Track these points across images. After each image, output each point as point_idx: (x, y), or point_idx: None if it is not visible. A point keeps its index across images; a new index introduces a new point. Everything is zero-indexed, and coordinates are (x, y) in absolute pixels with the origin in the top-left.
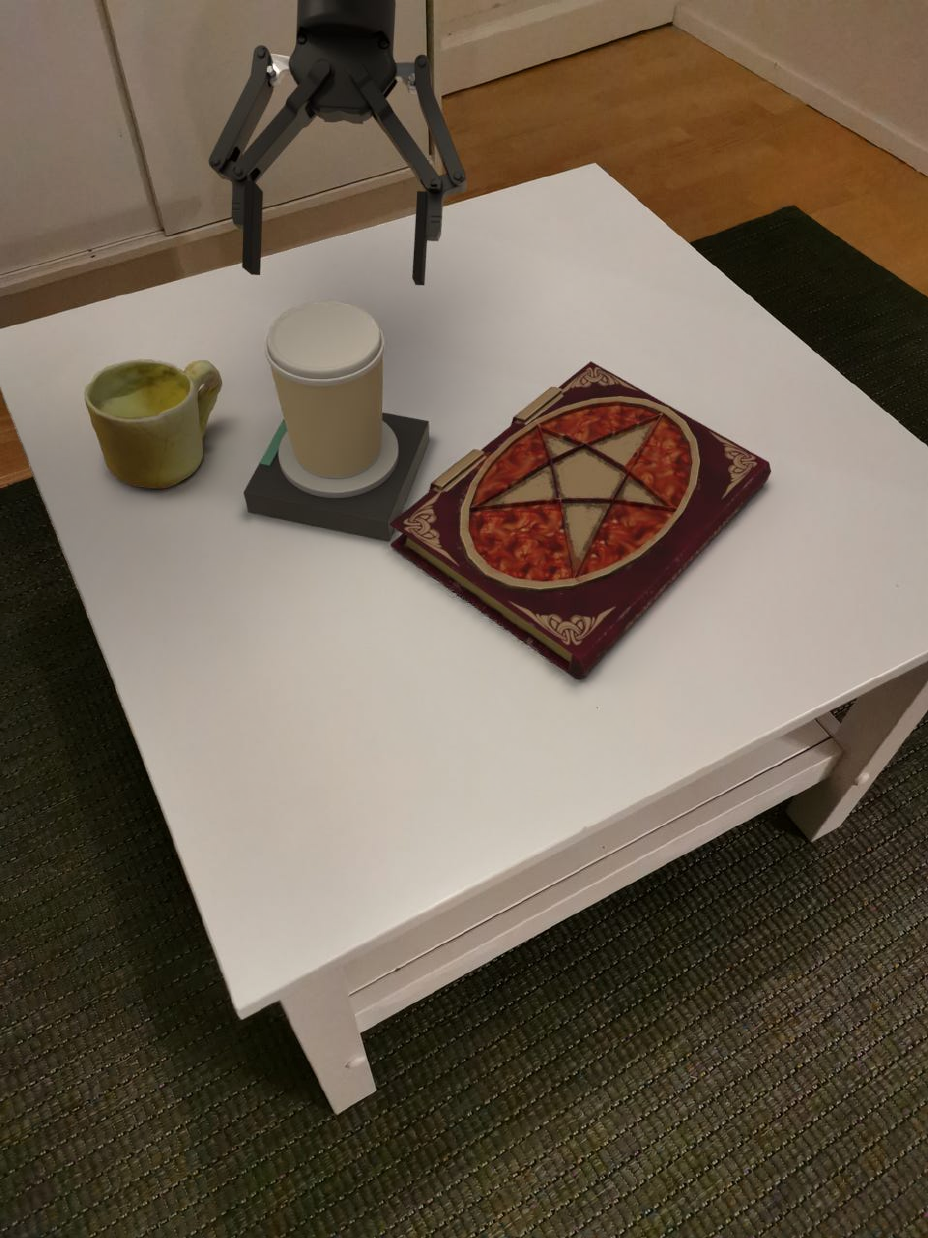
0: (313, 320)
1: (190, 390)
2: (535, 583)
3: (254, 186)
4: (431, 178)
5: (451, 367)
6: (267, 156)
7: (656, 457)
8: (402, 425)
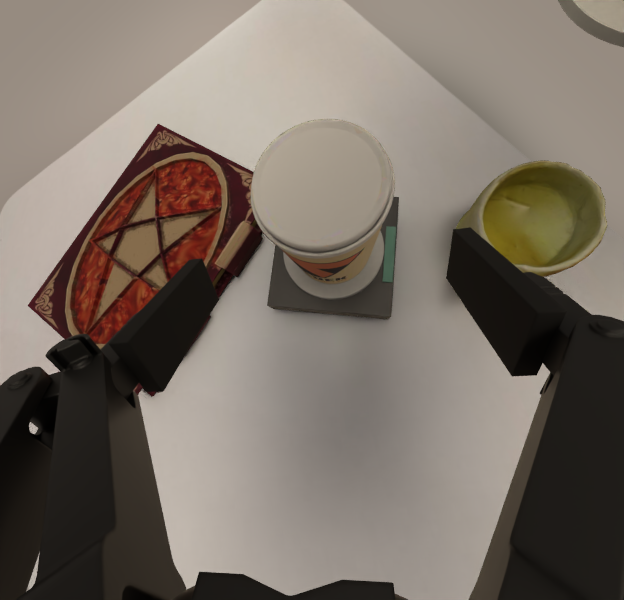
0: (339, 206)
1: (482, 227)
2: (178, 157)
3: (528, 308)
4: (81, 370)
5: (267, 407)
6: (546, 402)
7: (93, 285)
8: (288, 295)
